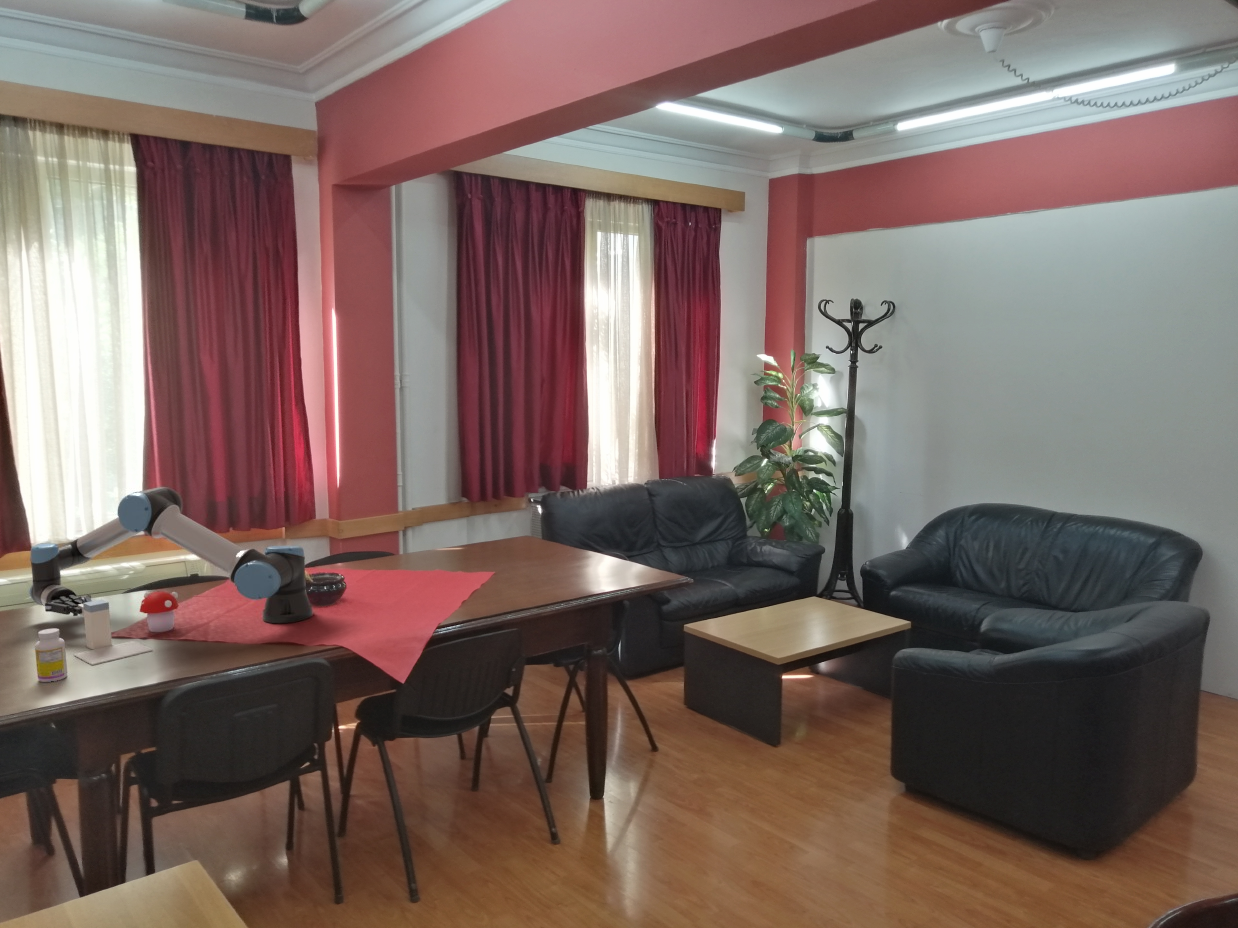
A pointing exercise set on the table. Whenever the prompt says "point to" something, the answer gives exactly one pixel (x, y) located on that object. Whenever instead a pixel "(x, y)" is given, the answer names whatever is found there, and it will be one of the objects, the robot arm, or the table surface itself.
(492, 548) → the table surface
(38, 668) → the supplement bottle
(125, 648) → the felt mat
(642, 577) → the table surface
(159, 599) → the mushroom
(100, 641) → the cream block
